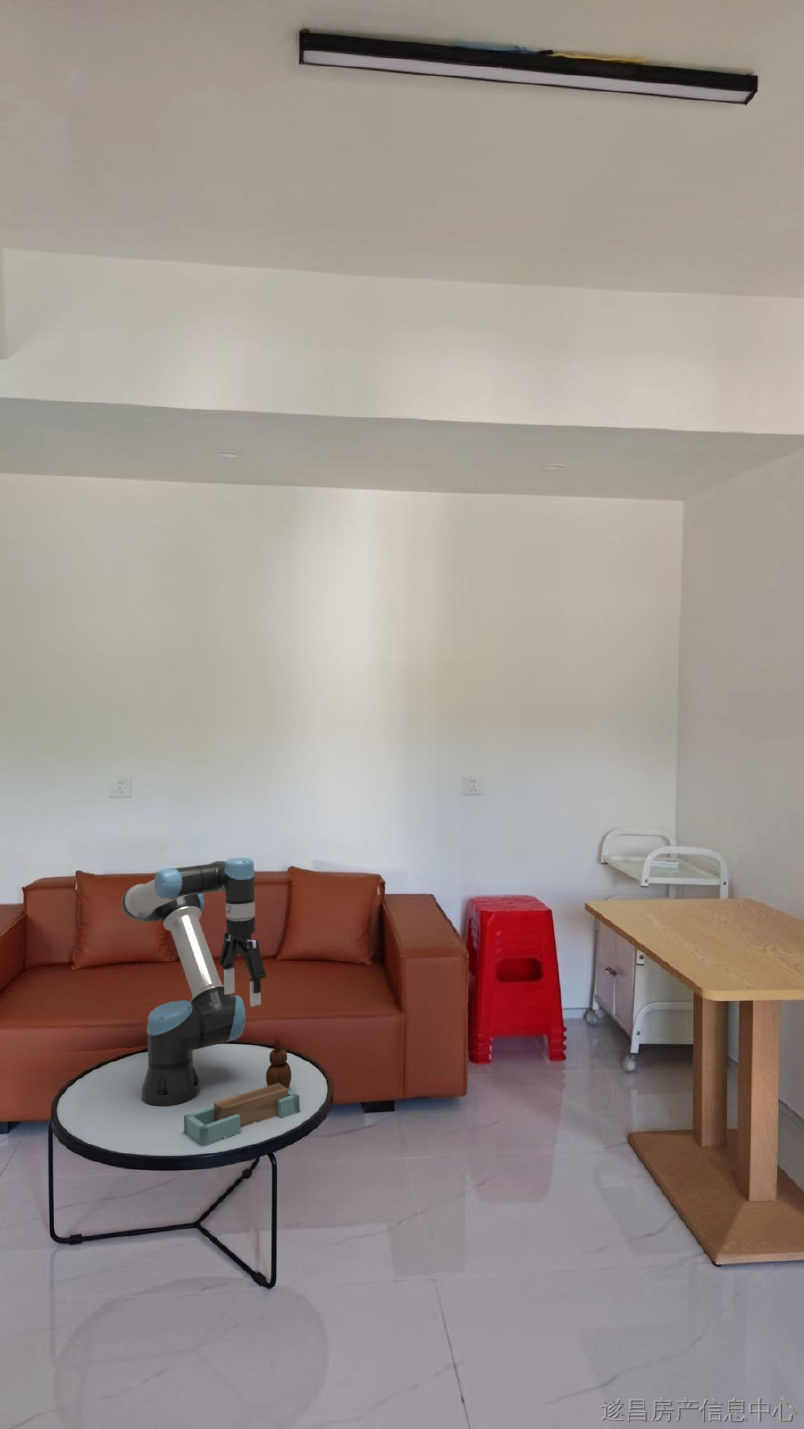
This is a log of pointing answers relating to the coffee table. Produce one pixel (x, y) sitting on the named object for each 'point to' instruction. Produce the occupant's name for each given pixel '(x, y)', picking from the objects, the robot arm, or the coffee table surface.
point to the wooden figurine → (278, 1067)
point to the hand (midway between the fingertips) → (242, 999)
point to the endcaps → (228, 1121)
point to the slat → (251, 1104)
